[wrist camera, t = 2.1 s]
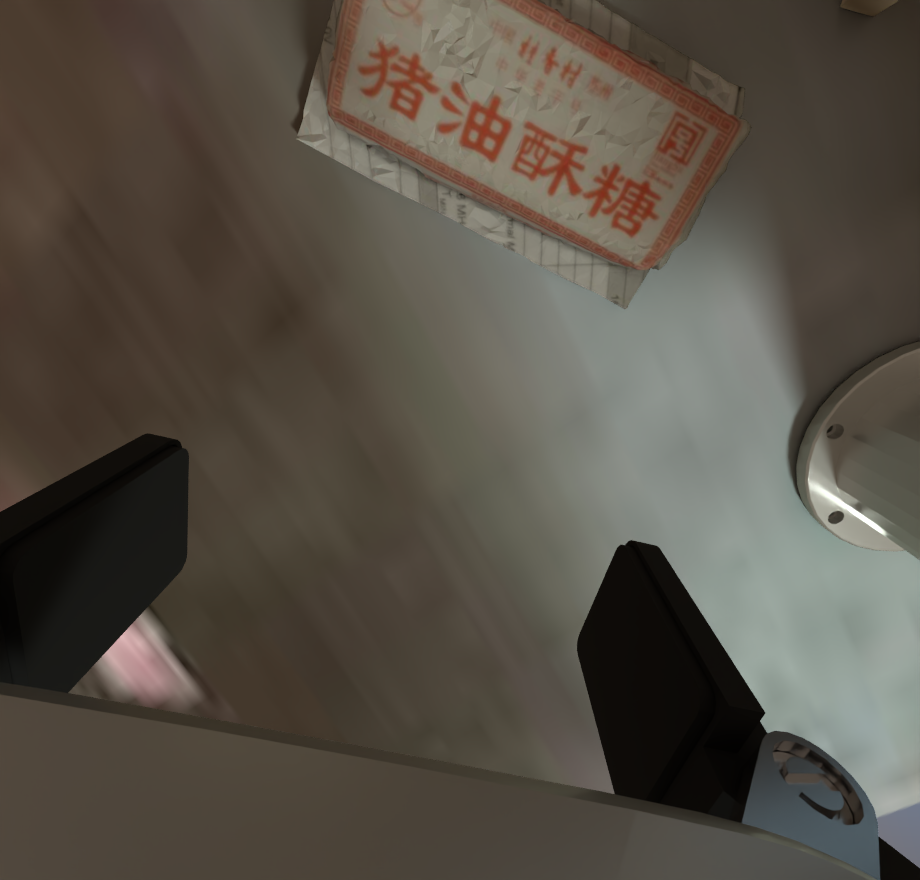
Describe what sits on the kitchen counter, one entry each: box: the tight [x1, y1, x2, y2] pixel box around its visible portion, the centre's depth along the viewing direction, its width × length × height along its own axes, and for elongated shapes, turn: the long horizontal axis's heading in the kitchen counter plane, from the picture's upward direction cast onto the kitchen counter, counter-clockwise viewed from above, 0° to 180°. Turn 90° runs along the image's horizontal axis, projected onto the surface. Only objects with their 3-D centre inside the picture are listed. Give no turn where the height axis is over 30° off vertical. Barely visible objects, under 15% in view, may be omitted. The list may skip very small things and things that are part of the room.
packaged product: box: [296, 0, 751, 309], centre depth 20 cm, size 18×5×10 cm
